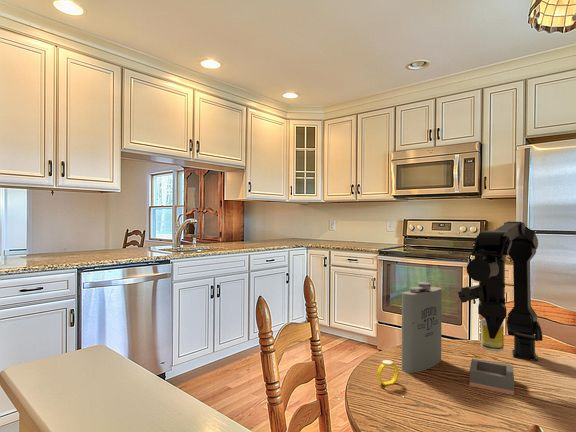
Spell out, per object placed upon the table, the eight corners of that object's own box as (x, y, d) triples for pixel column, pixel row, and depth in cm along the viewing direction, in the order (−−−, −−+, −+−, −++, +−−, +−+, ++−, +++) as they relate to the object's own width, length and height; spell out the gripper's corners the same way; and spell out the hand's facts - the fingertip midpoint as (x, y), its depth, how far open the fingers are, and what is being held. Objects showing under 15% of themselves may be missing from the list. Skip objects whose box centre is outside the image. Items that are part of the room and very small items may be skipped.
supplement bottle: (507, 352, 95) (507, 315, 96) (485, 351, 96) (484, 314, 96) (498, 345, 101) (498, 310, 101) (477, 344, 102) (477, 309, 102)
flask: (413, 375, 103) (413, 286, 103) (399, 369, 106) (399, 284, 107) (445, 361, 113) (446, 280, 114) (432, 356, 117) (432, 278, 117)
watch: (381, 388, 95) (380, 366, 95) (375, 384, 98) (374, 362, 98) (400, 383, 97) (399, 361, 97) (394, 379, 100) (393, 357, 100)
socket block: (471, 372, 105) (471, 358, 105) (512, 380, 100) (512, 365, 100) (469, 385, 96) (469, 370, 97) (514, 395, 92) (514, 379, 92)
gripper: (462, 271, 111) (462, 323, 111) (456, 279, 95) (456, 339, 94) (505, 274, 105) (504, 329, 105) (506, 283, 89) (506, 347, 89)
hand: (492, 335), depth 99 cm, fingers closed on supplement bottle, 5 cm apart
